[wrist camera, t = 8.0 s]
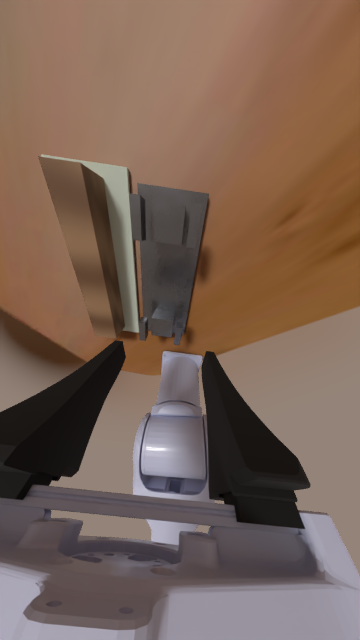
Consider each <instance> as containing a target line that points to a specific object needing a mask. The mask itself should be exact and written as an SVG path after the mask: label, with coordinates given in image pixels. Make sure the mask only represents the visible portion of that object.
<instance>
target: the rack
mask: <svg viewBox="0 0 360 640" xmlns="http://www.w3.org/2000/svg"><path fill="white" fill-rule="evenodd" d="M137 184H138V195H137V194H130V193H129V195H130V209H131V223H132V237H133V240H139V241H140V251H141V274H142V296H143V317H141V319H140V321H139V335H140V340H144V341H146V338H147V336H148V330H151V331H152V335H157V336H165V337H172V333H174V334H175V339H174V344H175V345H180V339H181V334H182V335H184V332H185V326H186V320H187V315H188V309H189V303H190V298H191V292H192V286H193V281H194V275H195V269H196V264H197V258H198V252H199V247H200V241H201V235H202V230H203V224H204V218H205V213H206V207H207V201H208V196H209V194H207V193H200V192H193V191H186V190H180V189H173V188H166V187H159V186H153V185H146V184H139V183H137Z"/></svg>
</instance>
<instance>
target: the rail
mask: <svg viewBox="0 0 360 640" xmlns="http://www.w3.org/2000/svg"><path fill="white" fill-rule="evenodd" d="M38 157H39V156H38ZM39 161H40V164H41V167H42V170H43V173H44V176H45V179H46V182H47V186H48V189H49V192H50V195H51V198H52V201H53V204H54V207H55V211H56V214H57V217H58V220H59V223H60V226H61V229H62V232H63V236H64V239H65V242H66V245H67V248H68V251H69V254H70V257H71V261H72V264H73V267H74V270H75V273H76V276H77V279H78V282H79V286H80V289H81V292H82V295H83V298H84V301H85V304H86V307H87V311H88V314H89V317H90V320H91V323H92V326H93V329H94V332H95V336H101V337H109V338H117V337H118V336H119V334H120V333H121V331H122V330H123V328H124V327H125V322H124V315H123V308H122V302H121V295H120V288H119V281H118V274H117V268H116V261H115V254H114V247H113V240H112V233H111V227H110V220H109V213H108V206H107V199H106V192H105V186H104V179H103V178H102V177H101V176H99V175H98V174H96V173H95V172H93V171H92V170H90V169H89V168H88V167H86V166H85V165H83V164H82V163H80V162H73V161H66V160H60V159H53V158H46V157H39Z"/></svg>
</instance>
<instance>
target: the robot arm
mask: <svg viewBox="0 0 360 640" xmlns="http://www.w3.org/2000/svg"><path fill="white" fill-rule="evenodd" d="M125 358H126V356H125V351H124V346H123V341H114V342H113V343H112V344H110V345H109V346H108V347H107V348H105V349H104V350H103V351H102V352H100V353H99V354H98V355H97V356H95V357H94V358H93V359H91V360H90V361H89V362H87V363H86V364H85V365H83V366H82V367H80V368H79V369H78V370H76V371H75V372H73V373H72V374H70V375H69V376H67V377H65V378H64V379H62V380H61V381H59V382H57V383H56V384H54V385H52V386H50V387H48V388H47V389H45V390H43V391H41V392H40V393H38V394H36V395H34V396H32V397H30V398H28V399H27V400H24V401H22V402H21V403H18V404H17V405H15V406H12V407H10V408H8V409H6V410H4V411H2V412H0V640H360V575H359V573H358V571H357V569H356V567H355V565H354V563H353V561H352V559H351V557H350V555H349V553H348V551H347V549H346V547H345V545H344V543H343V541H342V539H341V537H340V535H339V533H338V531H337V529H336V527H335V525H334V523H333V521H332V519H331V517H330V516H329V515H328V514H327V513H321V512H312V511H299V510H298V509H297V506H296V504H295V502H297V498H296V495H295V493H294V490H300V489H306V488H309V487H310V483H309V481H308V478H307V476H306V474H305V472H304V470H303V468H302V466H301V464H300V462H299V460H298V458H297V457H296V456H295V455H294V454H293V453H292V452H291V451H290V450H289V449H288V448H287V447H286V446H285V445H284V444H283V443H282V442H281V441H280V440H278V438H277V437H276V436H275V435H274V434H273V433H272V432H271V431H270V430H269V429H268V428H267V427H266V426H265V424H264V423H263V422H262V421H261V420H260V419H259V418H258V417H257V415H256V414H255V413H254V412H253V411H252V410H251V409H250V407H249V406H248V405H247V403H246V402H245V401H244V400H243V398H242V397H241V396H240V394H239V393H238V392H237V390H236V389H235V387H234V386H233V384H232V383H231V381H230V380H229V378H228V377H227V375H226V373H225V372H224V370H223V368H222V367H221V365H220V363H219V361H218V359H217V358H216V355H215V353H214V352H209V351H206V354H205V357H204V360H203V363H202V382H203V389H204V397H205V404H206V414H207V415H203V417H202V408H201V407H200V396H199V381H198V371H199V368H200V365H201V362H202V359H203V357H202V356H201V355H193V354H185V353H177V352H169V351H164V352H163V356H162V372H161V383H160V387H159V392H158V397H157V403H156V405H153V406H152V411H151V413H147V414H146V415H145V417H144V418H143V419H142V421H141V423H140V425H139V428H138V431H137V434H136V438H135V443H134V449H133V466H134V476H133V495H131V494H121V493H111V492H101V491H92V490H82V489H72V488H63V487H54V486H49V484H50V483H51V481H52V480H55V481H58V480H59V479H60V477H61V476H66V477H72V476H73V475H74V474H76V473H77V471H78V470H79V467H80V465H81V461H82V459H83V456H84V453H85V450H86V447H87V444H88V442H89V439H90V436H91V433H92V431H93V428H94V425H95V423H96V421H97V418H98V416H99V413H100V411H101V408H102V406H103V403H104V401H105V399H106V397H107V395H108V393H109V391H110V389H111V387H112V385H113V384H114V382H115V380H116V378H117V376H118V374H119V372H120V370H121V368H122V366H123V363H124V361H125ZM214 500H221V501H224V504H217V503H215V502H214ZM50 509H51V510H61V511H71V512H80V513H90V514H100V515H110V516H120V517H129V518H139V519H146V521H147V522H148V524H149V526H150V528H151V531H152V533H151V541H146V540H137V539H128V538H115V537H97V536H79V533H80V530H81V528H82V525H83V521H81V520H75V519H69V518H51V510H50ZM198 525H208V526H211V527H210V528H209V532H208V534H206V533H202V532H194V531H195V530H196V528H197V527H198Z"/></svg>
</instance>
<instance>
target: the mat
mask: <svg viewBox="0 0 360 640" xmlns="http://www.w3.org/2000/svg"><path fill="white" fill-rule="evenodd" d="M41 157H46V158H53V159H60V160H66V161H73V162H80V163H82V164H83V165H85V166H86V167H88V168H89V169H90V170H92V171H93V172H95V173H96V174H98V175H99V176H101V177H102V178H103V179H104V186H105V192H106V199H107V206H108V213H109V220H110V227H111V233H112V240H113V247H114V254H115V261H116V268H117V274H118V281H119V288H120V295H121V302H122V308H123V315H124V322H125V327H124V328H123V331H131V332H138V333H139V314H138V299H137V285H136V270H135V256H134V241H133V237H132V223H131V209H130V195H129V193H130V183H129V169H128V168H127V167H121V166H115V165H108V164H101V163H95V162H88V161H82V160H75V159H68V158H62V157H55V156H48V155H42V154H41Z"/></svg>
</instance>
